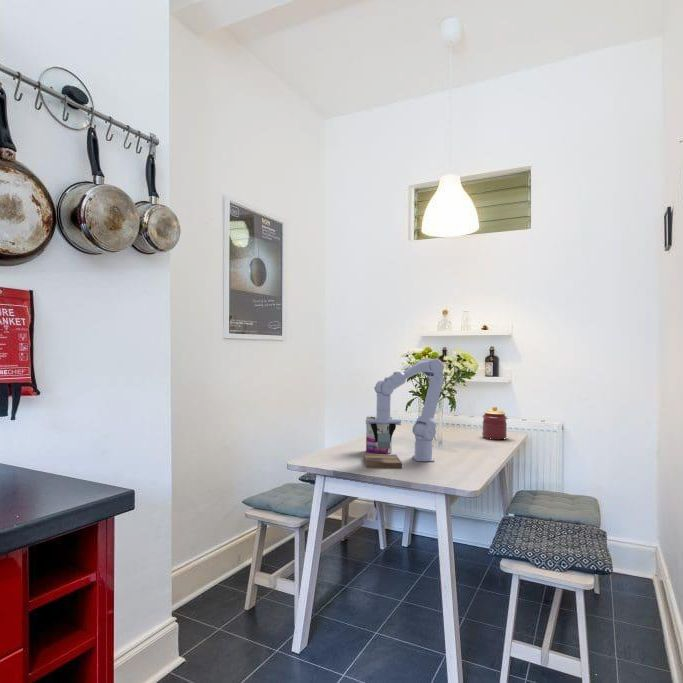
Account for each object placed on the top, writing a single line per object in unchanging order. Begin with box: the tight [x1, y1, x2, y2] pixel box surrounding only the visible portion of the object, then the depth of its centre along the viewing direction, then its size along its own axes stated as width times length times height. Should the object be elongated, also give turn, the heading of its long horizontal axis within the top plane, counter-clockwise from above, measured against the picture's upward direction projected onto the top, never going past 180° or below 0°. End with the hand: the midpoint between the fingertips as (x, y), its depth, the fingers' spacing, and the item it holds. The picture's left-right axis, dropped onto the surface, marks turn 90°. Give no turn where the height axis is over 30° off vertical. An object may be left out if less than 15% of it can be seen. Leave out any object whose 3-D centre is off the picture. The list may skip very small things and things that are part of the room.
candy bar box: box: [365, 415, 393, 454], centre depth 225 cm, size 11×5×16 cm, turn 62°
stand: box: [363, 453, 403, 469], centre depth 203 cm, size 16×14×2 cm
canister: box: [481, 406, 508, 440], centre depth 270 cm, size 13×13×18 cm
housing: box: [376, 430, 390, 449], centre depth 204 cm, size 5×8×7 cm, turn 2°
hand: (382, 441), depth 203 cm, fingers closed on housing, 5 cm apart
